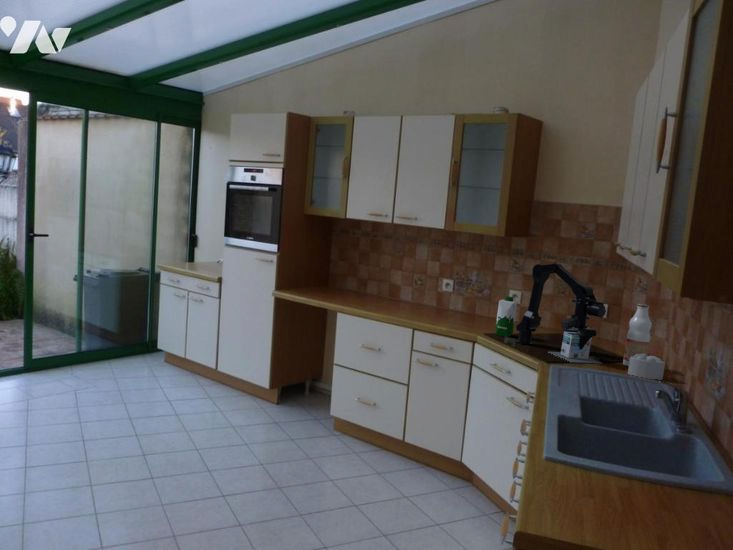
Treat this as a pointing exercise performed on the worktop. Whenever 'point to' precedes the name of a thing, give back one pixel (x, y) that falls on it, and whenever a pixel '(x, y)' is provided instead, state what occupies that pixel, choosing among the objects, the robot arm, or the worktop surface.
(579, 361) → the mat
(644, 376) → the lumpy-topped squat cylinder
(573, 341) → the light bulb box
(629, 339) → the fruit juice
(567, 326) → the robot arm
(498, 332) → the milk carton
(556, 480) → the worktop surface
